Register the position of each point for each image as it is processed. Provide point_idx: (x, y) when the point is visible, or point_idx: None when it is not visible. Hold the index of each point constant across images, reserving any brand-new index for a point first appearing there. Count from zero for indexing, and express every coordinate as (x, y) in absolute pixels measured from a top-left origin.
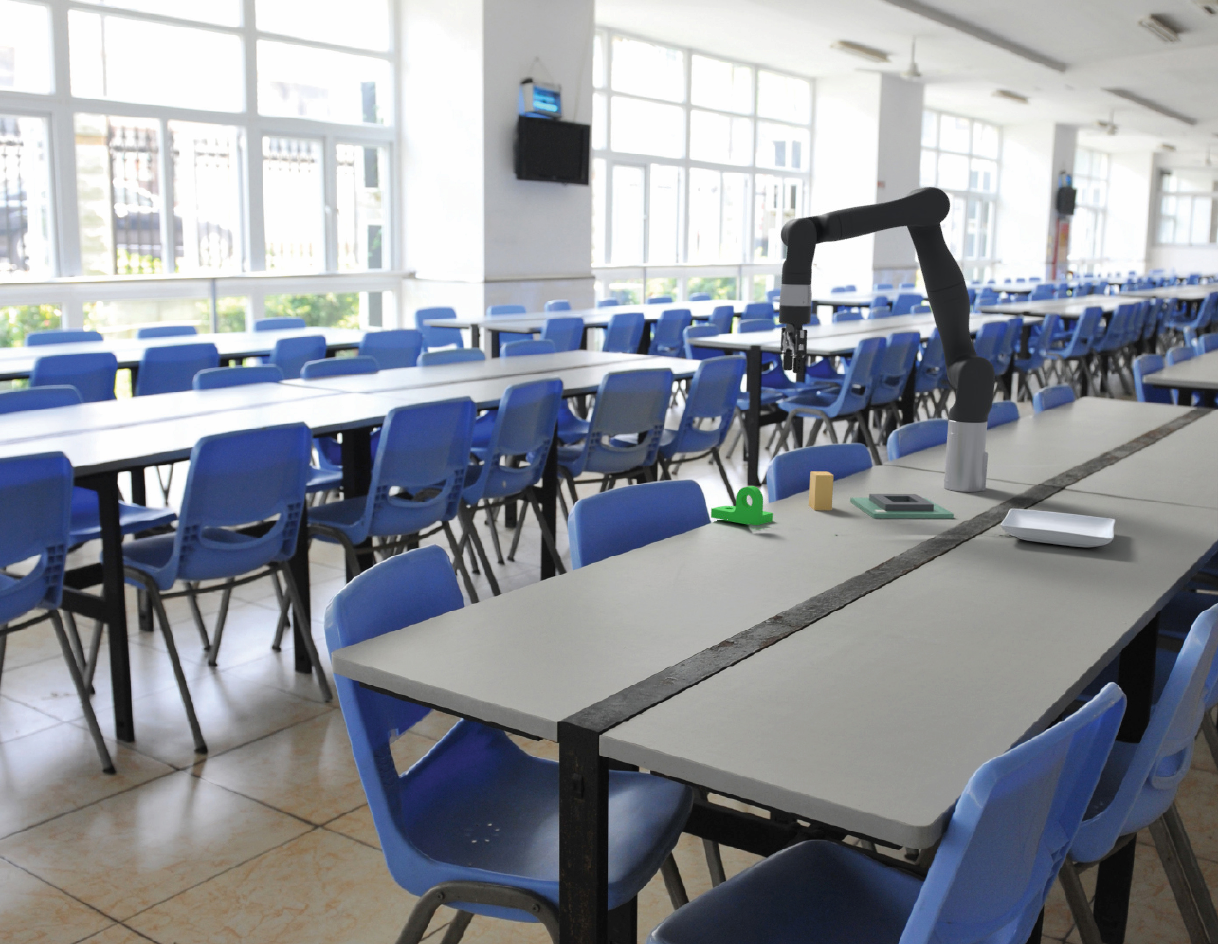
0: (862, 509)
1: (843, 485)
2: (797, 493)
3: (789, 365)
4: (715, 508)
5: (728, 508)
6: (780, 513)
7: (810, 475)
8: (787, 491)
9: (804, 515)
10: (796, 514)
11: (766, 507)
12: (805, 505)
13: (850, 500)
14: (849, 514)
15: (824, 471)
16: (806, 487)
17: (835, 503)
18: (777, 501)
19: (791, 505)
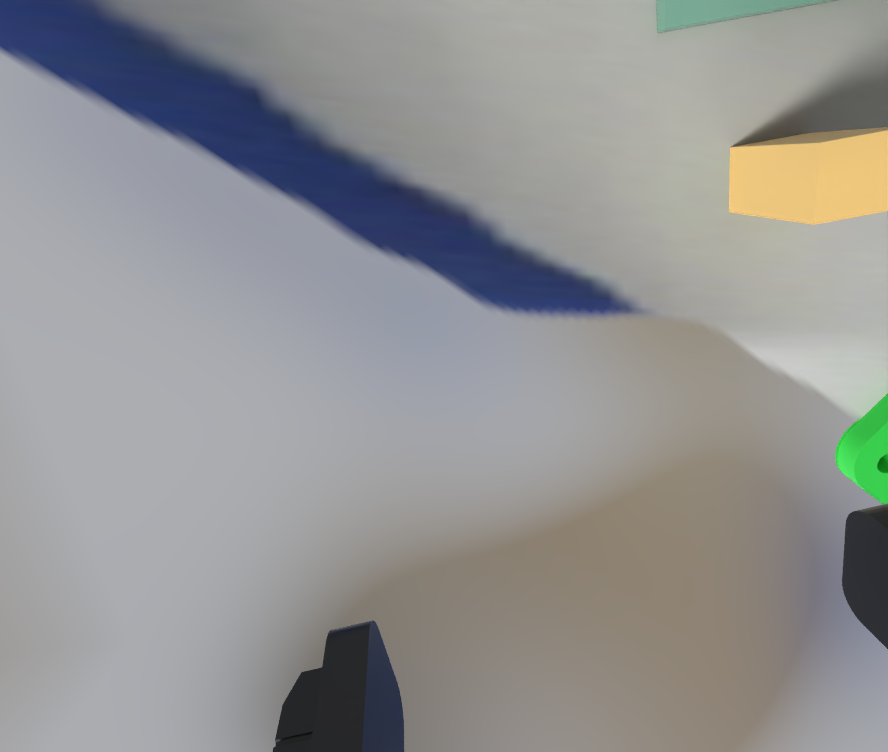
0: (823, 2)
1: (284, 12)
2: (509, 239)
3: (377, 706)
4: (886, 495)
5: (875, 463)
6: (845, 312)
7: (805, 222)
8: (476, 275)
9: (881, 238)
10: (864, 263)
11: (756, 352)
12: (725, 223)
13: (662, 31)
14: (883, 70)
15: (820, 158)
16: (376, 194)
17: (689, 103)
18: (661, 316)
19: (725, 272)
